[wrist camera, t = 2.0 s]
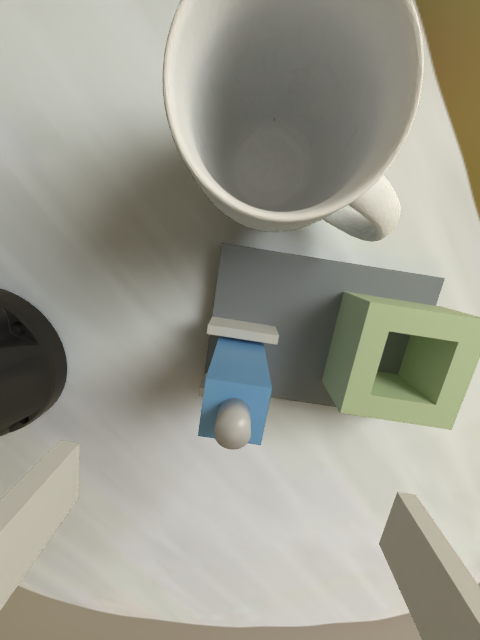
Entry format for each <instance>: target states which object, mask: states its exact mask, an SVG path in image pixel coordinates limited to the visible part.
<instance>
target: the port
mask: <svg viewBox="0 0 480 640" xmlns="http://www.w3.org/2000/svg"><path fill="white" fill-rule="evenodd" d="M389 331H390V332H396V333H403V334H409V335H410V338H409V341H408V345H407V348H406V351H405V354H404V357H403V360H402V363H401V367H400V370H399V373H398V374H391V373H385V372H378V371H377V370H378V367H379V364H380V360H381V357H382V353H383V350H384V347H385V343H386V340H387V337H388V333H389ZM479 358H480V317H477V316H473V315H470V314H466V313H462V312H459V311H455V310H452V309H448V308H444V307H441V306H434V305H428V304H422V303H415V302H409V301H402V300H396V299H390V298H383V297H377V296H371V295H364V294H358V293H351V292H345V291H344V293H343V297H342V301H341V305H340V309H339V313H338V317H337V321H336V325H335V329H334V333H333V337H332V341H331V345H330V350H329V354H328V358H327V362H326V366H325V370H324V374H323V378H322V383H323V384H324V386H325V388H326V390H327V391H328V393H329V395H330V396H331V398H332V400H333V402H334V403H335V405H336V407H337V408H338V410H339V412H340V413H343V414H350V415H357V416H363V417H370V418H377V419H383V420H390V421H397V422H403V423H410V424H417V425H423V426H430V427H437V428H443V429H450V430H452V427H453V425H454V422H455V420H456V417H457V414H458V412H459V409H460V407H461V404H462V402H463V399H464V396H465V394H466V391H467V389H468V386H469V384H470V381H471V378H472V376H473V373H474V371H475V368H476V366H477V363H478V360H479Z"/></svg>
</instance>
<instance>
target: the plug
mask: <svg viewBox="0 0 480 640" xmlns="http://www.w3.org/2000/svg"><path fill="white" fill-rule="evenodd" d="M271 391H272V385H271V380H270V374H269V369H268V364H267V359H266V353H265V348H264V343H263V342H257V341H250V340H244V339H237V338H231V337H224V336H219V339H218V342H217V345H216V348H215V351H214V354H213V357H212V360H211V364H210V367H209V370H208V373H207V376H206V380H205V388H204V395H203V403H202V410H201V417H200V425H199V432H198V436H202V437H209V438H215V439H216V441H217V442H218V443H219V444H220V445H221V446H222V447H224V448H227V449H239V448H241V447H243V446H245V445H246V444H247V443H250V444H256V445H261V441H262V436H263V431H264V426H265V421H266V416H267V411H268V406H269V401H270V396H271Z"/></svg>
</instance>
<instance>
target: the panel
mask: <svg viewBox="0 0 480 640" xmlns="http://www.w3.org/2000/svg"><path fill="white" fill-rule="evenodd" d="M444 279H445V278H439V277H433V276H427V275H420V274H414V273H408V272H401V271H395V270H389V269H382V268H376V267H370V266H364V265H357V264H351V263H345V262H338V261H332V260H326V259H319V258H313V257H307V256H300V255H294V254H288V253H281V252H275V251H269V250H263V249H256V248H250V247H244V246H237V245H231V244H225V243H222V246H221V254H220V262H219V269H218V277H217V284H216V292H215V299H214V307H213V314H212V318H211V320H210V322H209V323H208V327H207V334H210V337H209V345H208V352H207V360H206V367H205V374H204V377H203V380H202V382H201V385H200V389H199V396H203V395H204V388H205V380H206V376H207V373H208V370H209V367H210V364H211V360H212V357H213V354H214V351H215V348H216V345H217V342H218V339H219V336H224V337H231V338H237V339H244V340H250V341H257V342H263V343H264V348H265V353H266V359H267V364H268V369H269V374H270V380H271V385H272V391H271V396H270V397H274V398H281V399H287V400H294V401H301V402H307V403H314V404H321V405H327V406H334V407H336V405H335V403H334V402H333V400H332V398H331V396H330V395H329V393H328V391H327V390H326V388H325V386H324V384H323V383H322V378H323V374H324V370H325V366H326V362H327V358H328V354H329V350H330V345H331V341H332V337H333V333H334V329H335V325H336V321H337V317H338V313H339V309H340V305H341V301H342V297H343V293H344V291H345V292H351V293H358V294H364V295H371V296H377V297H383V298H390V299H396V300H402V301H409V302H415V303H422V304H428V305H434V306H436V303H437V300H438V297H439V294H440V291H441V288H442V285H443V282H444ZM409 338H410V335H409V334H403V333H396V332H390V331H389V333H388V337H387V340H386V343H385V347H384V350H383V353H382V357H381V360H380V364H379V367H378V370H377V371H378V372H385V373H391V374H398V373H399V370H400V367H401V363H402V360H403V357H404V354H405V351H406V348H407V345H408V341H409Z"/></svg>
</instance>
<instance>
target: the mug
mask: <svg viewBox="0 0 480 640" xmlns="http://www.w3.org/2000/svg"><path fill="white" fill-rule="evenodd" d="M423 68H424V55H423V41H422V34H421V29H420V25H419V21H418V17H417V14H416V11H415V8H414V6H413V3H412V0H181V1H180V3H179V6H178V8H177V10H176V12H175V15H174V18H173V21H172V24H171V27H170V31H169V34H168V38H167V43H166V48H165V54H164V64H163V96H164V105H165V111H166V115H167V120H168V123H169V127H170V130H171V133H172V137H173V140H174V142H175V144H176V147H177V149H178V151H179V153H180V155H181V157H182V159H183V161H184V163H185V164H186V166H187V168H188V169H189V171H190V172H191V174H192V175H193V178H194V179H195V180H196V181H197V182H198V185H199V186H200V187H201V190H203V191H204V193H205V195H206V196H207V197H208V198H209V199H210V200H211V201H212V203H213V204H215V205H216V207H217V208H219V209H220V211H222V212H223V213H224V214H225V215H226V216H228V217H230V218H231V219H232V220H235V221H236V222H237V223H239V224H243V225H244V226H245V227H250V228H252V229H257V230H259V231H266V232H269V231H272V232H279V231H288V230H295V229H297V228H302V227H305V226H307V225H310V224H312V223H315V222H317V221H320V220H322V219H323V220H325V221H326V222H328V223H329V224H331V225H333V226H335V227H336V228H338V229H340V230H342V231H344V232H346V233H347V234H349V235H351V236H354V237H356V238H359V239H362V240H365V241H378V240H381V239H382V238H384V237H386V236H387V235H388V234H389V233H390V232H391V231H392V230H393V229H394V227H395V226H396V224H397V223H398V221H399V218H400V215H401V206H400V203H399V200H398V197H397V195H396V193H395V191H394V189H393V187H392V186H391V184H390V183H389V181H388V180H387V179H386V178H385V177H384V175H383V174H384V173H385V172H386V171H387V170H388V169H389V167H390V166H391V164H392V163H393V161H394V160H395V158H396V157H397V155H398V154H399V152H400V150H401V149H402V147H403V145H404V143H405V141H406V139H407V136H408V134H409V132H410V130H411V127H412V125H413V122H414V119H415V116H416V113H417V110H418V106H419V101H420V96H421V90H422V81H423ZM347 205H350V206H351V207H352V208H354V209H355V210H356V211H355V210H352V209H350V208H348V207H346V206H347ZM357 211H358V212H357Z"/></svg>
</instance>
